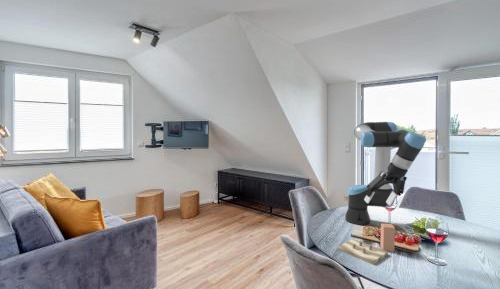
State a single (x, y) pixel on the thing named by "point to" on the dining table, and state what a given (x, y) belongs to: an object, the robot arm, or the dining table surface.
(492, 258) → the dining table surface
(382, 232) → the block
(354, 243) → the base plate
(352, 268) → the dining table surface
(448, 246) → the dining table surface
